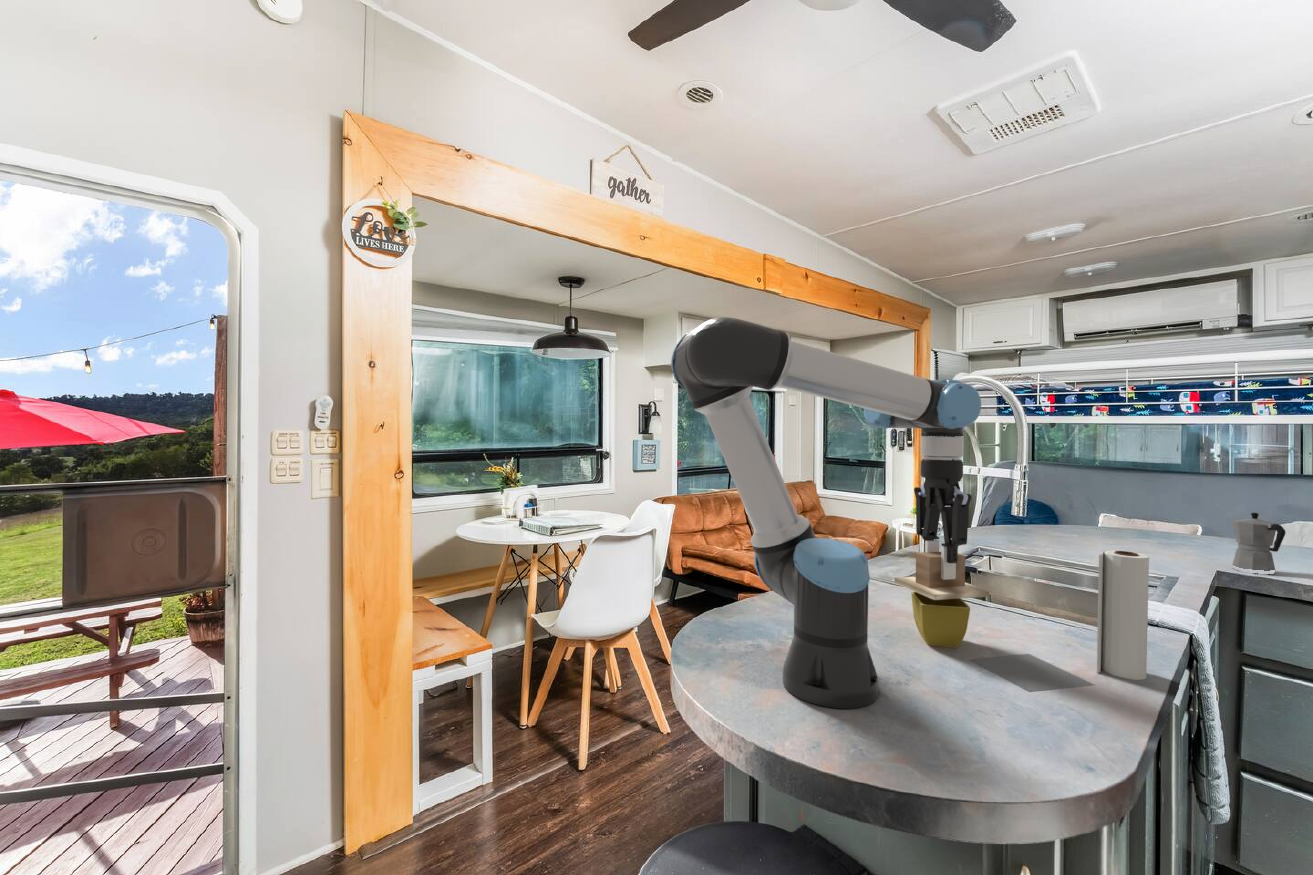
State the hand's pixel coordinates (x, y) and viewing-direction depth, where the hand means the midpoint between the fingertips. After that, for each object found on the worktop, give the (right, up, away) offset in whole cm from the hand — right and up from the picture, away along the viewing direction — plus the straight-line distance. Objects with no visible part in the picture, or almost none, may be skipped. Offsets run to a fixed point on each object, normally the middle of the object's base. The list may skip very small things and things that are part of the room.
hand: (939, 575), depth 111 cm
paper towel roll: (+25, -14, -13) cm, 32 cm away
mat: (+9, -14, -13) cm, 21 cm away
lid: (0, -3, 0) cm, 3 cm away
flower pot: (0, -14, 0) cm, 14 cm away
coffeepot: (+126, -14, +59) cm, 140 cm away
